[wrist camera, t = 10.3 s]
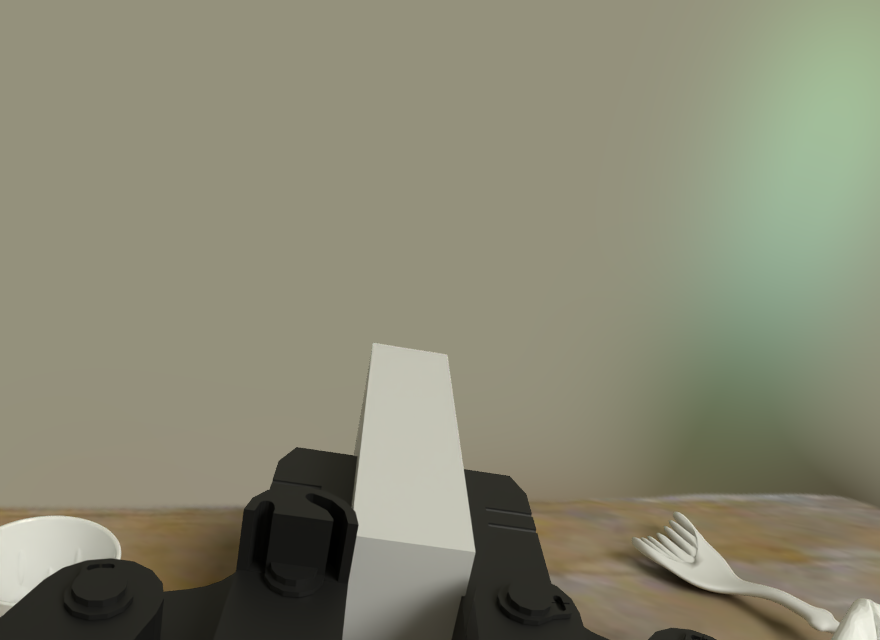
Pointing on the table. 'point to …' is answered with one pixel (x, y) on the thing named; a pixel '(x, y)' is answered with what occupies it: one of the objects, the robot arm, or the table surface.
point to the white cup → (47, 551)
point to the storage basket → (860, 622)
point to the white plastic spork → (718, 571)
